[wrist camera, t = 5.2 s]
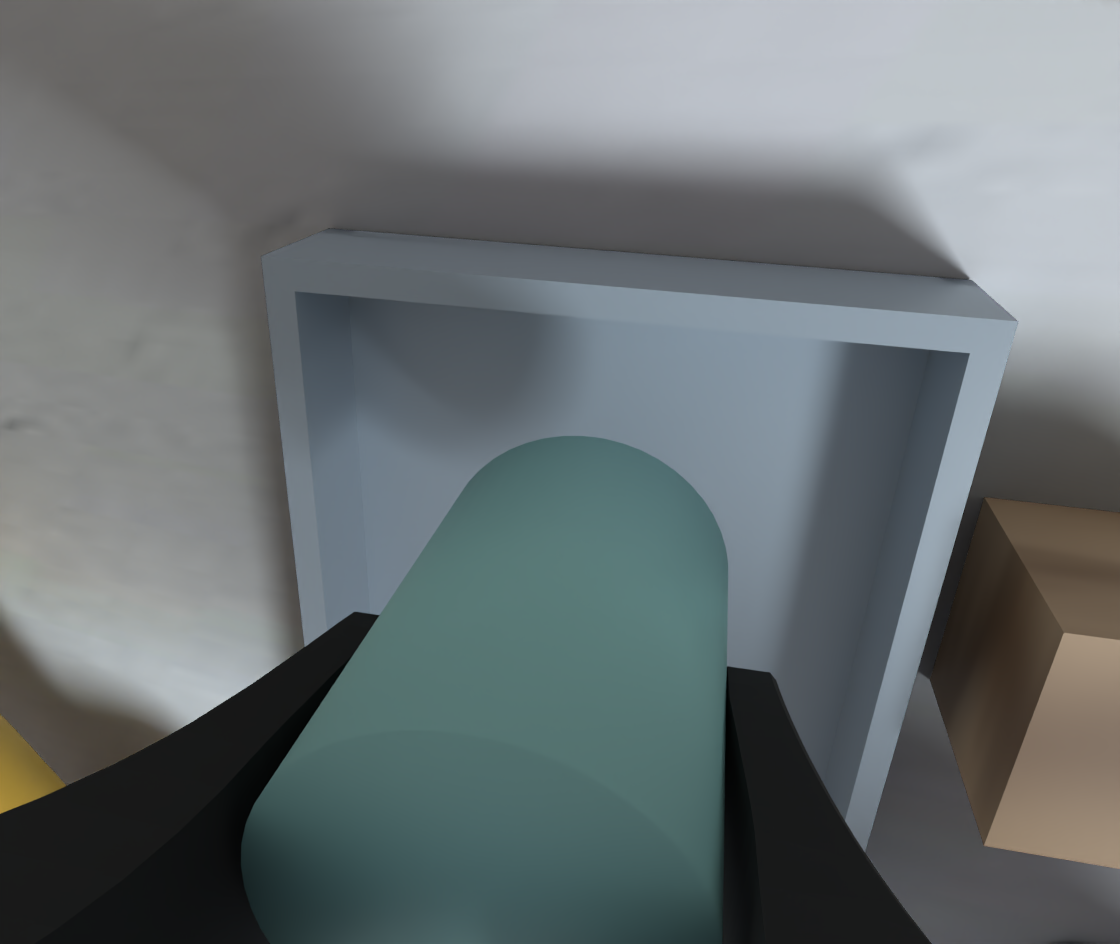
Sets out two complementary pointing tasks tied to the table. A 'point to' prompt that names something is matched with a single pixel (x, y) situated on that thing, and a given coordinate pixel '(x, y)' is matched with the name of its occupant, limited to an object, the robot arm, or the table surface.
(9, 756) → the dumbbell
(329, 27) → the table surface
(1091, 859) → the cube
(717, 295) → the tote
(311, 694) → the robot arm
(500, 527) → the teal cylinder
